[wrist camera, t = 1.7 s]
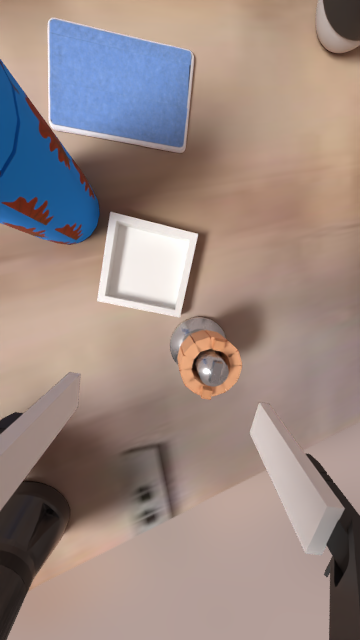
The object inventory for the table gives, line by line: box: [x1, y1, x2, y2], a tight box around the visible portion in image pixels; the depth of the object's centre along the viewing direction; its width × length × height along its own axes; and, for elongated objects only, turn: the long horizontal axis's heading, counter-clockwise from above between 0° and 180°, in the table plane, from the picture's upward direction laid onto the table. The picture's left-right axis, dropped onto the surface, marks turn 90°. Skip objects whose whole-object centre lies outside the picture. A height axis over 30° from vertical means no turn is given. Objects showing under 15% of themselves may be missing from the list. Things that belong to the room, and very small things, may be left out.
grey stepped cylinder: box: [170, 317, 229, 387], centre depth 29 cm, size 10×10×12 cm
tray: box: [97, 212, 198, 317], centre depth 30 cm, size 13×13×2 cm
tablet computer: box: [48, 18, 194, 153], centre depth 27 cm, size 19×13×1 cm, turn 84°
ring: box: [177, 330, 242, 400], centre depth 26 cm, size 8×8×5 cm
